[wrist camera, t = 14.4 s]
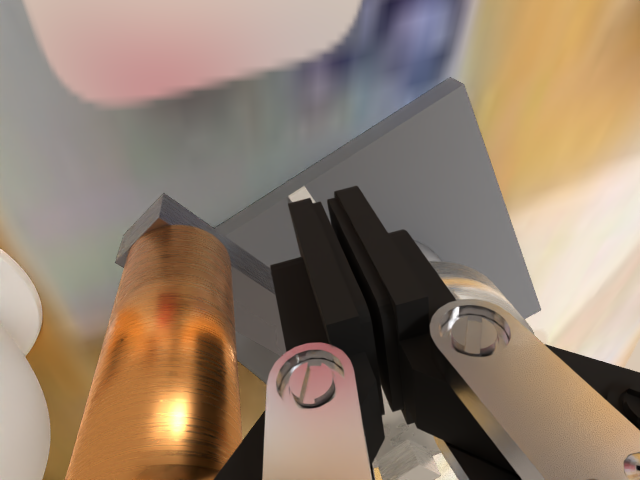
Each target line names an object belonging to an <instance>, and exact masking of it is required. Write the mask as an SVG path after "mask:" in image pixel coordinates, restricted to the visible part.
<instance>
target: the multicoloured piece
mask: <svg viewBox="0 0 640 480" xmlns="http://www.w3.org/2000/svg"><path fill="white" fill-rule="evenodd" d="M429 262H430V264H431V265H432V267H433V268H434V269H435V271H436V272H437V274H438V275H439V276H440V278H441V279H442V281H443V282H444V283H445V285H446V286H447V288H448V289H449V290H450V292H451V293H452V295H453V296H454V297H455V299H456V300H460V299H477V300H483V301H488V302H490V303H493V304H495V305H498V306H500V307H501V308H503V309H504V310H506V311H507V312H509V313H510V314H511V315H512V316H513V317H514V318H516V319H517V320H518V321H519V322H520V323H521V324H522V325H523V326H524V327H526V328H527V329H528V330H529V331H530V332H531V333H532V334H533V335H534V332H533V330H532V329H531V327H530V326H529V324H528V323H527V322H526V321H525V319H524V318H523V317H522V316H521V315H520V314H519V312H518V311H517V310H516V309H515V308H514V307H513V305H512V304H511V303H510V302H509V301H508V300H507V299H506V297H505V296H504V295H503V294H502V293H501V292H500V290H499V289H498V288H497V287H496V286H495V285H494V283H493V282H491V281H490V280H489V279H488V278H487V277H486V276H485V275H483V274H481V273H480V272H478V271H476V270H474V269H472V268H469V267H467V266H464V265H460V264H456V263H451V262H441V261H429ZM115 263H116V264H118V265H120V266H122V267H123V268H124V270H123V273H122V277H121V281H120V284H119V288H118V291H117V295H116V298H115V302H114V306H113V309H112V313H111V316H110V320H109V324H108V327H107V331H106V334H105V338H104V341H103V345H102V349H101V352H100V356H99V359H98V363H97V367H96V370H95V374H94V377H93V381H92V385H91V388H90V392H89V395H88V399H87V402H86V406H85V410H84V413H83V417H82V420H81V424H80V428H79V431H78V435H77V438H76V442H75V445H74V449H73V453H72V456H71V460H70V463H69V467H68V471H67V474H66V478H65V480H213V479H214V478H215V477H216V475H217V474H218V473H219V471H220V470H221V469H222V467H223V466H224V465H225V463H226V462H227V461H228V459H229V458H230V457H231V455H232V454H233V453H234V451H235V450H236V449H237V447H238V446H239V445H240V443H241V442H242V428H241V413H240V397H239V382H238V366H237V351H236V335H235V331H237V332H239V333H240V334H242V335H244V336H246V337H248V338H249V339H251V340H253V341H255V342H256V343H258V344H260V345H262V346H263V347H265V348H267V349H269V350H271V351H272V352H274V353H276V354H278V355H279V356H282V355H283V354H284V353H286V347H285V342H284V337H283V332H282V326H281V321H280V316H279V311H278V305H277V300H276V295H275V290H274V284H273V279H272V274H271V268H269V267H268V266H266V265H265V264H264V263H262V262H261V261H259V260H258V259H256V258H255V257H254V256H252V255H251V254H249V253H248V252H247V251H245V250H244V249H242V248H241V247H240V246H238V245H237V244H235V243H234V242H232V241H231V240H230V239H228V238H227V237H225V236H224V235H223V234H221V233H220V232H218V231H217V230H216V229H214V228H213V227H211V226H210V225H208V224H207V223H206V222H204V221H203V220H201V219H200V218H199V217H197V216H196V215H194V214H193V213H192V212H190V211H189V210H187V209H186V208H184V207H183V206H182V205H180V204H179V203H177V202H176V201H175V200H173V199H172V198H170V197H169V196H168V195H166V194H165V193H163V194H162V195H161V196H160V197H159V198H158V200H157V201H156V202H155V203H154V204H153V205H152V206H151V207H150V208H149V209H148V210H147V211H146V212H145V213H144V214H143V215H142V216H141V217H140V218H139V219H138V220H137V221H136V222H135V223H134V225H133V226H132V227H131V228H130V229H129V230H128V231H127V232H126V233H125V234H124V235H123V238H122V241H121V245H120V248H119V251H118V254H117V257H116V261H115ZM534 336H535V335H534ZM381 389H382V386H381ZM382 396H383V403H384V409H385V415H382V421H383V428H384V434H385V439H384V441H383V443H382V445H381V447H380V449H379V451H378V453H377V455H376V457H375V459H374V461H373V468H376V467H379V470H380V474H381V477H382V480H435V479H436V478H438V477H440V476H441V474H440V472H439V470H438V467H437V465H436V463H435V461H434V458H433V455H436V454H439V453H441V451H440V450H439V448H438V446H437V444H436V442H435V440H434V436H433V435H430V434H428V433H426V432H424V431H422V430H420V429H417V427H416V425H415V423H412V424H409V425H407V423H406V421H405V419H404V416H403V414H402V411H401V410H398V411H395V412H392V410H391V408H390V406H389V404H388V401H387V399H386V396H385V394H384V391H383V389H382Z"/></svg>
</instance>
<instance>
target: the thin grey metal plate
mask: <svg viewBox="0 0 640 480" xmlns="http://www.w3.org/2000/svg"><path fill="white" fill-rule="evenodd" d="M353 186H358V187H359V189H360V190H361V192H362V193H363V195H364V196H365V198H366V199H367V201H368V203H369V204H370V206H371V207H372V209H373V210H374V212H375V213H376V215H377V217H378V218H379V220H380V221H381V223H382V224H383V226H384V228H385V229H386V231H387V232H388V233H391V232H394V231H398V230H402V229H404V230H406V231H407V232H408V233H409V234H410V236H411V237H412V239H413V240H414V241H415V243H416V244H417V246H418V247H419V248H420V250H421V251H422V253H423V254H424V255H425V257H426V258H427V260H428V261H441V262H451V263H456V264H460V265H464V266H467V267H469V268H472V269H474V270H476V271H478V272H480V273H481V274H483V275H485V276H486V277H487V278H488V279H489V280H490V281H491V282H493V283H494V285H495V286H496V287H497V288H498V289H499V290H500V292H501V293H502V294H503V295H504V296H505V297H506V299H507V300H508V301H509V302H510V303H511V304H512V305H513V307H514V308H515V309H516V310H517V311H518V312H519V314H520V315H521V316H522V317H523V318H524V319H526V318H528V317H529V316H531V315H533V314H535V313H537V312H539V311H541V308H540V305H539V302H538V299H537V296H536V293H535V290H534V287H533V284H532V281H531V278H530V276H529V273H528V270H527V267H526V264H525V261H524V258H523V255H522V252H521V249H520V246H519V243H518V241H517V238H516V235H515V232H514V229H513V226H512V223H511V220H510V217H509V214H508V211H507V208H506V205H505V203H504V200H503V197H502V194H501V191H500V188H499V185H498V182H497V179H496V176H495V173H494V170H493V167H492V165H491V162H490V159H489V156H488V153H487V150H486V147H485V144H484V141H483V138H482V135H481V132H480V130H479V127H478V124H477V121H476V118H475V115H474V112H473V109H472V106H471V103H470V100H469V97H468V94H467V92H466V89H465V86H464V84H463V83H461V82H459V81H457V80H455V79H453V78H451V77H450V78H448V79H447V80H445V81H443V82H442V83H440V84H439V85H437V86H436V87H434V88H432V89H431V90H429V91H428V92H426V93H425V94H423V95H422V96H420V97H418V98H417V99H415V100H414V101H412V102H411V103H409V104H408V105H406V106H404V107H403V108H401V109H400V110H398V111H397V112H395V113H394V114H392V115H390V116H389V117H387V118H386V119H384V120H383V121H381V122H379V123H378V124H376V125H375V126H373V127H372V128H370V129H369V130H367V131H365V132H364V133H362V134H361V135H359V136H358V137H356V138H355V139H353V140H351V141H350V142H348V143H347V144H345V145H344V146H342V147H340V148H339V149H337V150H336V151H334V152H333V153H331V154H330V155H328V156H326V157H325V158H323V159H322V160H320V161H319V162H317V163H316V164H314V165H312V166H311V167H309V168H308V169H306V170H305V171H303V172H302V173H300V174H298V175H297V176H295V177H294V178H292V179H291V180H289V181H287V182H286V183H284V184H283V185H281V186H280V187H278V188H277V189H275V190H273V191H272V192H270V193H269V194H267V195H266V196H264V197H263V198H261V199H259V200H258V201H256V202H255V203H253V204H252V205H250V206H248V207H247V208H245V209H244V210H242V211H241V212H239V213H238V214H236V215H234V216H233V217H231V218H230V219H228V220H227V221H225V222H224V223H222V224H220V225H219V226H217V227H216V228H214V229H216V230H217V231H218V232H220V233H221V234H223V235H224V236H225V237H227V238H228V239H230V240H231V241H232V242H234V243H235V244H237V245H238V246H240V247H241V248H242V249H244V250H245V251H247V252H248V253H249V254H251V255H252V256H254V257H255V258H256V259H258V260H259V261H261V262H262V263H264V264H265V265H266V266H268V267H269V268H270V265H273V264H276V263H280V262H284V261H287V260H291V259H295V258H298V257H301V255H300V251H299V247H298V243H297V239H296V235H295V231H294V227H293V223H292V219H291V215H290V211H289V207H288V203H292V202H295V201H299V200H303V199H307V198H311V200H312V203H316V202H320V201H321V203H322V205H323V207H324V210H325V212H326V214H327V216H328V219H329V221H330V223H331V220H330V215H329V210H328V204H327V199H331V198H334V191H338V190H341V189H345V188H349V187H353ZM235 335H236V351H237V360H238V361H239V362H240V363H241V364H242V365H244V366H245V367H246V368H247V369H249V370H250V371H251V372H252V373H253V374H255V375H256V376H257V377H258V378H259V379H261V380H262V381H263V382H264V383H266V384H267V381H268V376H269V372H270V371H271V369H272V367H273V366H274V364H275V362H276V361H277V360H278V359H279V358H280V357H281V356H279V355H278V354H276V353H274V352H272V351H271V350H269V349H267V348H265V347H263V346H262V345H260V344H258V343H256V342H255V341H253V340H251V339H249V338H248V337H246V336H244V335H242V334H240V333H239V332H237V331H235Z"/></svg>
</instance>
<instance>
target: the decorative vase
mask: <svg viewBox="0 0 640 480" xmlns="http://www.w3.org/2000/svg"><path fill="white" fill-rule="evenodd" d="M41 325H42V305H41V301H40V298H39V295H38V292H37V290H36V288H35V286H34V284H33V283H32V281H31V279H30V278H29V276H28V275H27V274H26V272H25V271H24V270H23V269H22V268H21V267H20V265H19V264H18V263H17V262H16V261H15V260H14V259H12V258H11V257H10V256H9V255H8V254H7V253H6V252H4V251H3V250H2V249H0V480H42V479H43V476H44V472H45V469H46V465H47V461H48V456H49V449H50V435H51V430H50V418H49V412H48V407H47V403H46V400H45V397H44V394H43V391H42V389H41V386H40V384H39V381H38V379H37V377H36V375H35V373H34V371H33V369H32V368H31V366H30V364H29V362H28V361H27V359H26V357H25V356H26V355H27V354H28V353H29V351H30V350H31V348H32V347H33V345H34V343H35V341H36V339H37V337H38V335H39V332H40V329H41Z"/></svg>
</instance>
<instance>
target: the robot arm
mask: <svg viewBox="0 0 640 480" xmlns="http://www.w3.org/2000/svg"><path fill="white" fill-rule="evenodd" d="M327 204H328V210H329V215H330V220H331V223H330V221H329V219H328V216H327V214H326V212H325V210H324V207H323V205H322V203H321V201H320V202H316V203H312V200H311V198H307V199H303V200H299V201H295V202H292V203H288V207H289V211H290V215H291V219H292V223H293V227H294V231H295V235H296V239H297V243H298V247H299V251H300V255H301V257H298V258H295V259H291V260H287V261H284V262H280V263H276V264H273V265H270V268H271V274H272V279H273V284H274V290H275V295H276V300H277V305H278V311H279V316H280V321H281V326H282V332H283V337H284V342H285V347H286V353H284V354H283V355H282V356H281V357H280V358H279V359H278V360H277V361H276V362H275V364H274V366H273V367H272V369H271V371H270V372H269V376H268V381H267V389H266V410H265V411H264V413H263V414H262V415H261V417H260V418H259V419H258V421H257V422H256V423H255V425H254V426H253V427H252V429H251V430H250V431H249V433H248V434H247V435H246V437H245V438H244V439H243V441H242V442H241V443H240V445H239V446H238V447H237V449H236V450H235V451H234V453H233V454H232V455H231V457H230V458H229V459H228V461H227V462H226V463H225V465H224V466H223V467H222V469H221V470H220V471H219V473H218V474H217V475H216V477H215V478H214V479H213V480H375V475H374V468H373V461H374V459H375V457H376V455H377V453H378V451H379V449H380V447H381V445H382V443H383V441H384V439H385V434H384V428H383V421H382V415H385V409H384V403H383V396H382V389H383V391H384V394H385V396H386V399H387V401H388V404H389V406H390V408H391V410H392V412H395V411H398V410H401V411H402V414H403V416H404V419H405V421H406V423H407V425H409V424H412V423H415V425H416V427H417V429H420V430H422V431H424V432H426V433H428V434H430V435H433V436H434V440H435V442H436V444H437V446H438V448H439V450H440V451H441V453H442V454H443V456H444V457H445V459H446V461H447V462H448V464H449V465H450V467H451V468H452V470H453V471H454V473H455V475H456V476H457V478H458V479H459V480H640V373H639V372H635V371H632V370H629V369H626V368H622V367H619V366H616V365H612V364H609V363H606V362H602V361H599V360H596V359H592V358H589V357H586V356H582V355H579V354H576V353H572V352H569V351H566V350H562V349H559V348H555V347H552V346H549V345H545V344H543V343H542V342H541V341H540V340H539V339H538V338H537V337H536V336H534V335H533V334H532V333H531V332H530V331H529V330H528V329H527V328H526V327H524V326H523V325H522V324H521V323H520V322H519V321H518V320H517V319H516V318H514V317H513V316H512V315H511V314H510V313H509V312H507V311H506V310H504V309H503V308H501V307H500V306H498V305H495V304H493V303H490V302H488V301H483V300H477V299H460V300H456V299H455V297H454V296H453V295H452V293H451V292H450V290H449V289H448V288H447V286H446V285H445V283H444V282H443V281H442V279H441V278H440V276H439V275H438V274H437V272H436V271H435V269H434V268H433V267H432V265H431V264H430V262H429V261H428V260H427V258H426V257H425V255H424V254H423V253H422V251H421V250H420V248H419V247H418V246H417V244H416V243H415V241H414V240H413V239H412V237H411V236H410V234H409V233H408V232H407V231H406V230H404V229H402V230H398V231H394V232H391V233H388V232H387V231H386V229H385V228H384V226H383V224H382V223H381V221H380V220H379V218H378V217H377V215H376V213H375V212H374V210H373V209H372V207H371V206H370V204H369V203H368V201H367V199H366V198H365V196H364V195H363V193H362V192H361V190H360V189H359V187H358V186H353V187H349V188H345V189H341V190H338V191H334V198H331V199H327ZM381 386H382V389H381Z"/></svg>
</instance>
